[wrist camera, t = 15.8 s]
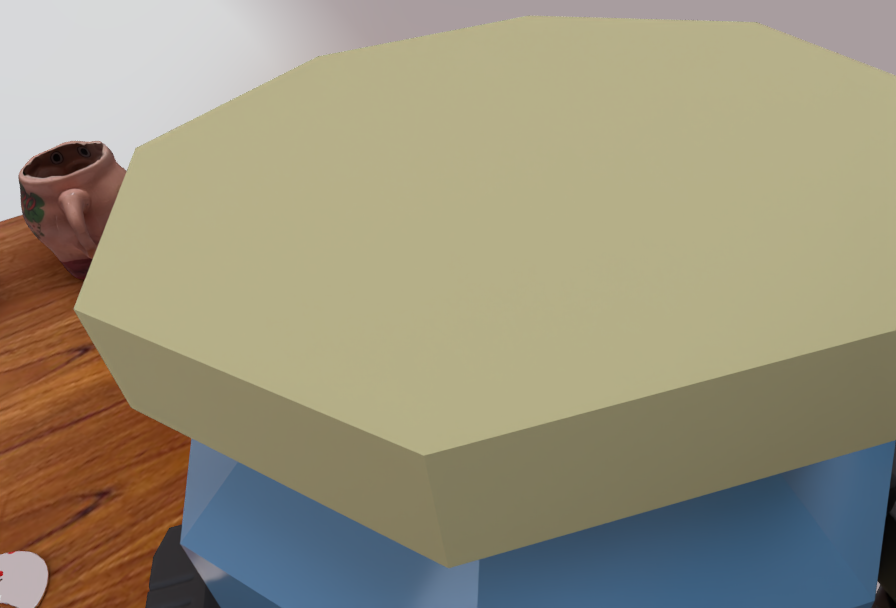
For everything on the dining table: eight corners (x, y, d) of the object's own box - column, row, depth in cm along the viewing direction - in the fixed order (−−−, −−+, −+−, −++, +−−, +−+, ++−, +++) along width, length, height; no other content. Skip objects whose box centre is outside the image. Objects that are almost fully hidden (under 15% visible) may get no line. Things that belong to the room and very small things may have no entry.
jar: (843, 758, 15) (1259, 90, 6) (529, 1153, 11) (283, 1038, 2) (556, 495, 21) (536, -17, 12) (295, 689, 17) (-17, 156, 8)
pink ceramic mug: (181, 280, 76) (132, 170, 68) (70, 323, 72) (3, 211, 64) (148, 216, 91) (104, 119, 82) (53, 248, 87) (-3, 149, 78)
